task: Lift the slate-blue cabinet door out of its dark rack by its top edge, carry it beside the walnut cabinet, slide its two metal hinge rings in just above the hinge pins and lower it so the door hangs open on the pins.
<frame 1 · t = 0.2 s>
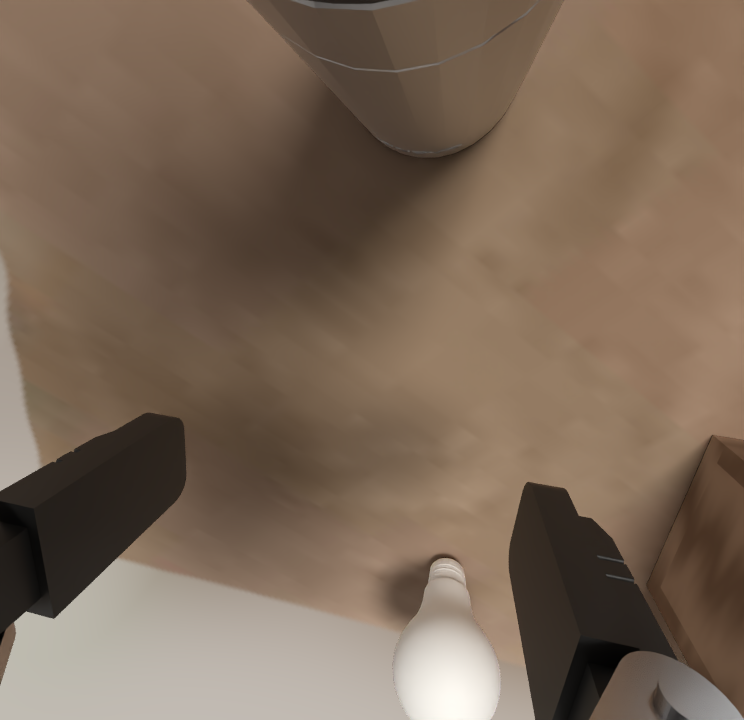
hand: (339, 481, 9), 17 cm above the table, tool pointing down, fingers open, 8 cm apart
lightbulb: (447, 561, 31), on the table
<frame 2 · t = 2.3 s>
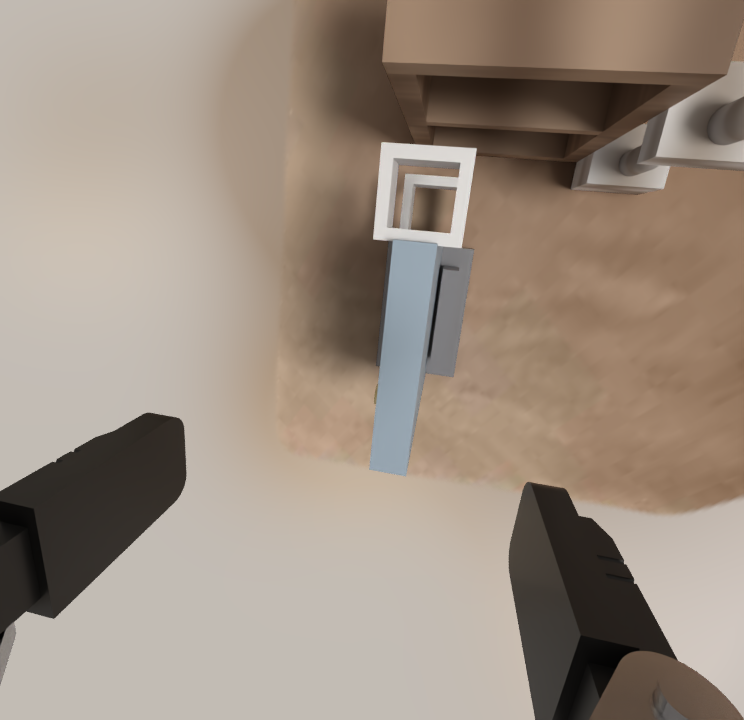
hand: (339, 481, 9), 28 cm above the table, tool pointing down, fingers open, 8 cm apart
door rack: (422, 309, 36), on the table
cabinet: (506, 90, 30), on the table
cabinet door: (422, 311, 35), point 1 cm above the table, touching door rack
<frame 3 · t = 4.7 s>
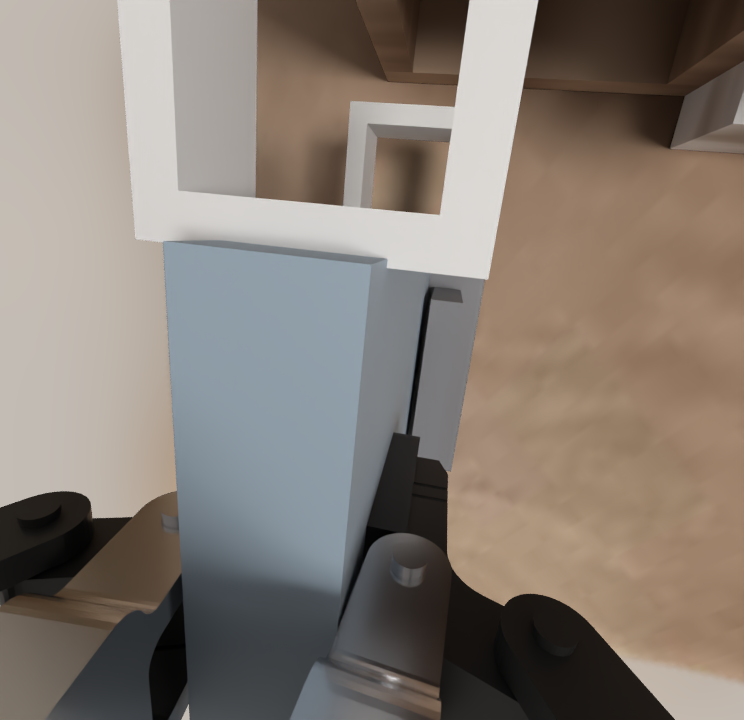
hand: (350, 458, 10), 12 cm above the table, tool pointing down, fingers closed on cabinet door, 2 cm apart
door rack: (399, 358, 22), on the table
cabinet door: (397, 363, 21), point 1 cm above the table, touching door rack, gripper
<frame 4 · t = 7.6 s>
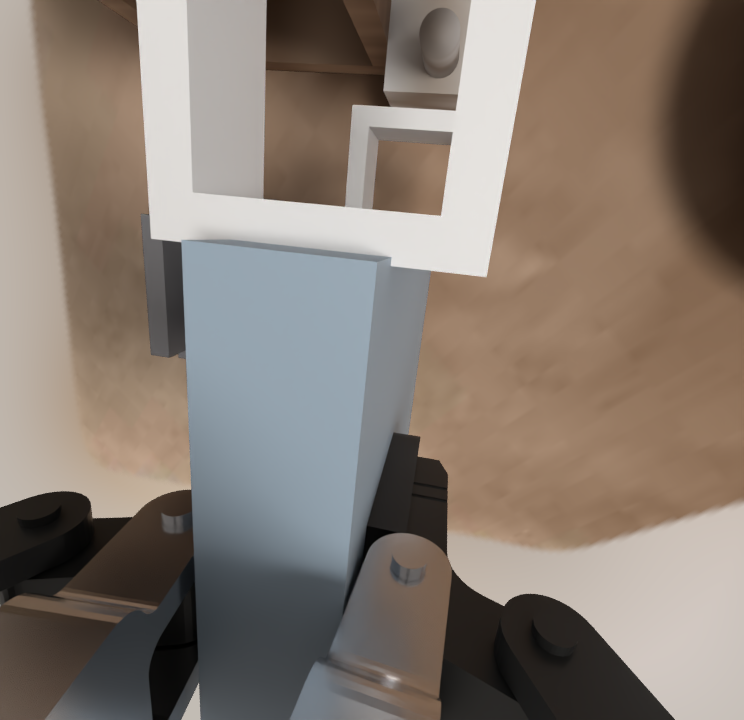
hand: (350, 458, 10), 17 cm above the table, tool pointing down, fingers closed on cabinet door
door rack: (231, 283, 28), on the table
cabinet door: (398, 363, 21), point 6 cm above the table, touching gripper
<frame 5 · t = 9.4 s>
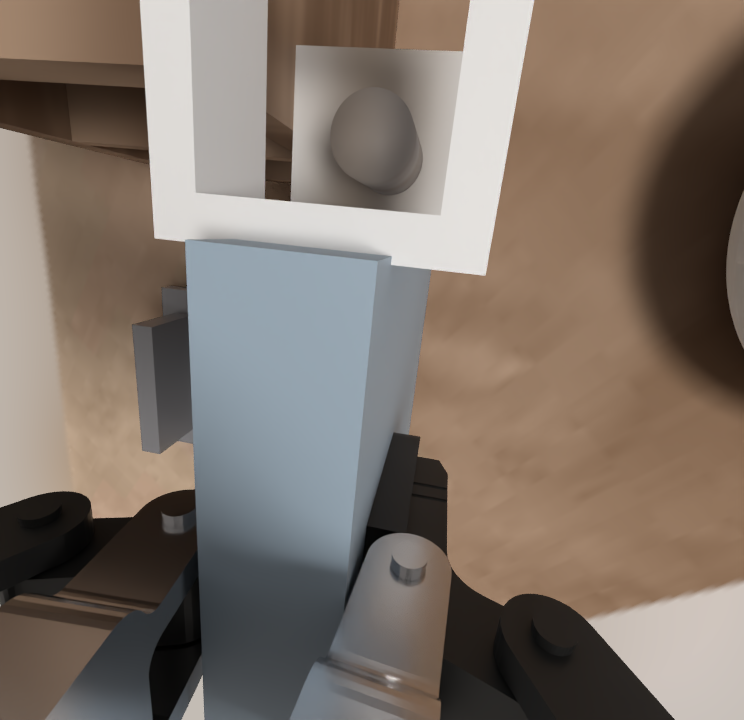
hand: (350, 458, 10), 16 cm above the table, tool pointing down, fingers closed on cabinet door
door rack: (221, 371, 29), on the table
cabinet: (283, 94, 23), on the table
cabinet door: (398, 361, 21), point 5 cm above the table, touching gripper
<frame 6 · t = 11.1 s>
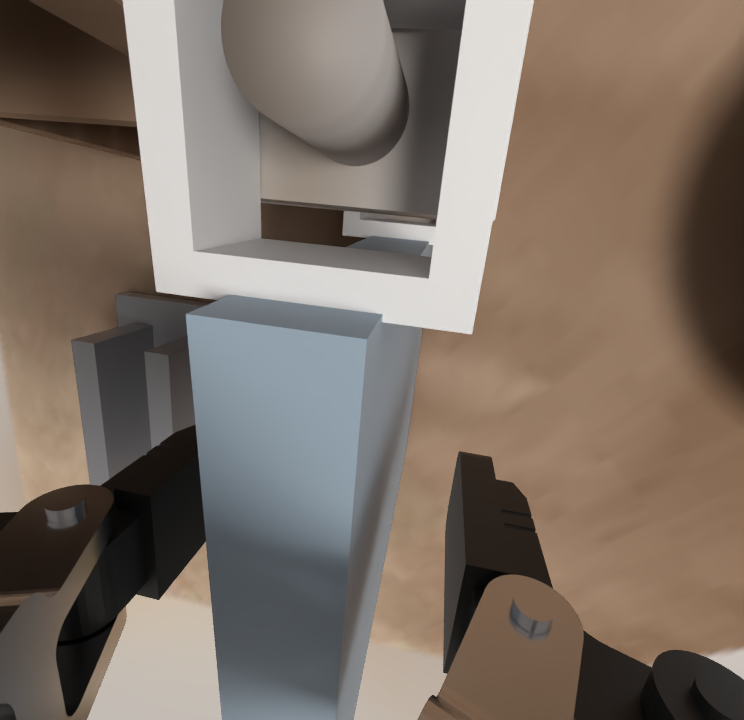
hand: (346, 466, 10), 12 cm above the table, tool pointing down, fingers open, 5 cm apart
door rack: (187, 389, 25), on the table
cabinet: (251, 64, 19), on the table
cabinet door: (399, 350, 21), point 1 cm above the table, touching cabinet
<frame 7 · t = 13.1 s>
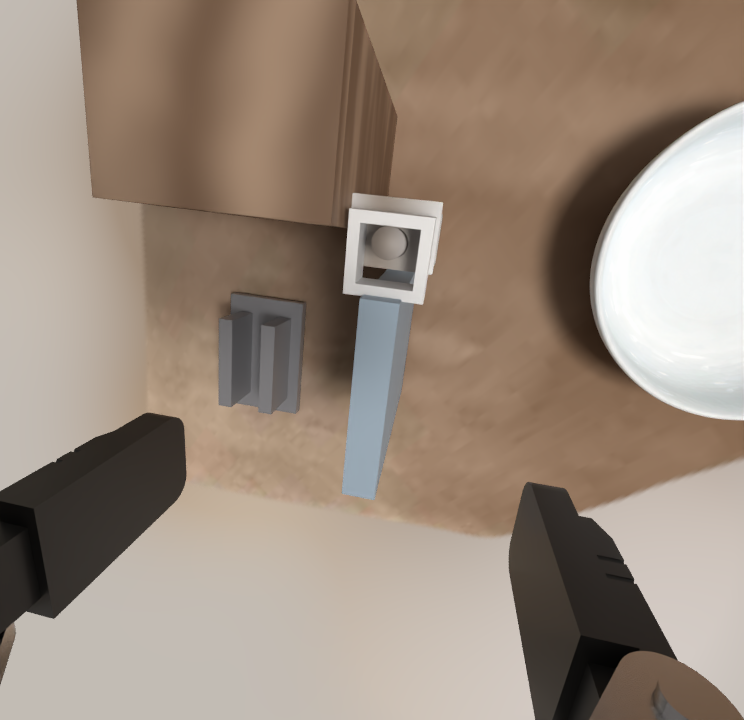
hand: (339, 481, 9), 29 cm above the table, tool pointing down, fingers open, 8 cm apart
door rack: (268, 352, 41), on the table
cabinet: (320, 169, 35), on the table
serving bowl: (706, 264, 33), on the table
cabinet door: (399, 328, 37), point 1 cm above the table, touching cabinet
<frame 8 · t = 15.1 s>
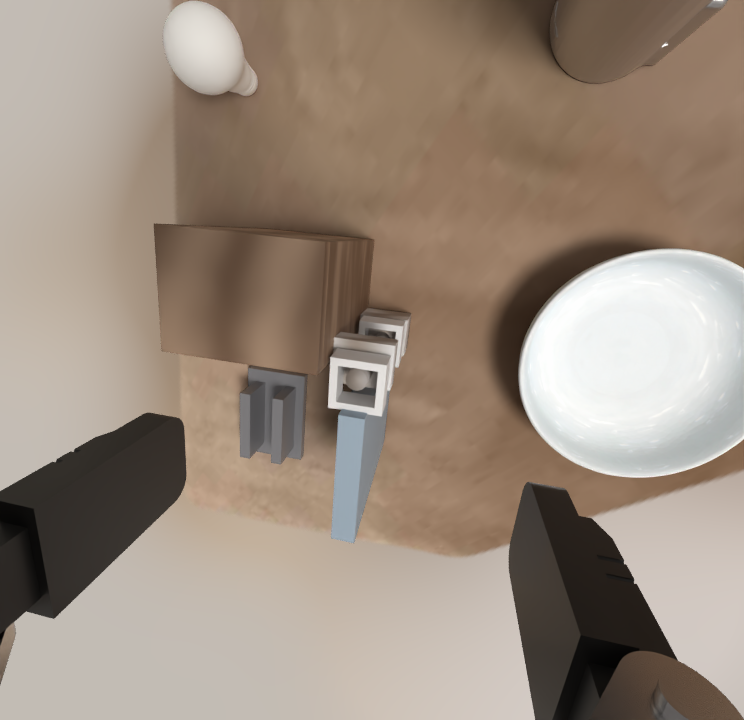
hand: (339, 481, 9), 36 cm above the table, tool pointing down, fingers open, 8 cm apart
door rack: (278, 411, 51), on the table
cabinet: (316, 276, 45), on the table
serving bowl: (615, 351, 42), on the table
lightbulb: (250, 85, 41), on the table
cabinet door: (380, 395, 47), point 1 cm above the table, touching cabinet
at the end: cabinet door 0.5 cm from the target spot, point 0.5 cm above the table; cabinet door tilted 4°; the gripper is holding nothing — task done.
